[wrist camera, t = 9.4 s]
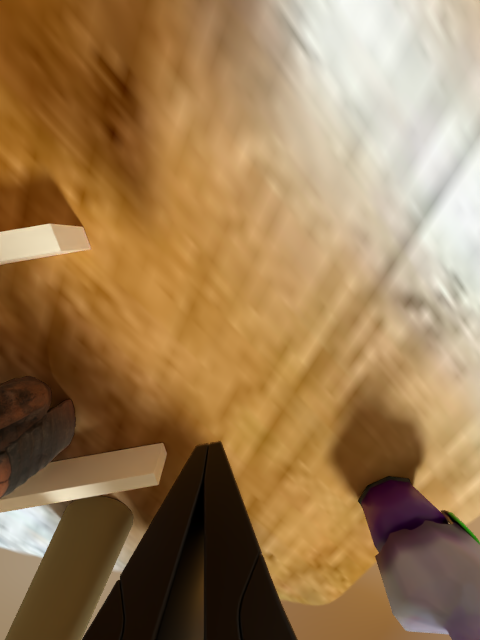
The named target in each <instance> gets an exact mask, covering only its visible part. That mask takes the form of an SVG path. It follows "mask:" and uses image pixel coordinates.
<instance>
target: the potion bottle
mask: <svg viewBox="0 0 480 640" xmlns="http://www.w3.org/2000/svg"><path fill="white" fill-rule="evenodd" d="M359 503H360V505H361V506H362V508H363V510H364V513H365V517H366V520H367V523H368V526H369V529H370V532H371V536H372V539H373V542H374V545H375V547H376V549H377V550H378V552H379V554H378V555H376V556H375V557H376V560H377V564H378V567H379V570H380V573H381V576H382V580H383V583H384V586H385V590H386V593H387V596H388V599H389V602H390V606H391V609H392V613H393V615H394V616H395V617H396V618H397V620H398V621H399V622H400V623H401V625H402V626H403V627H404V629H405V630H406V631H413V632H426V633H439V634H440V633H441V634H449V635H450V637H451V638H452V640H480V542H479V540H478V539H477V538H476V536H475V535H474V534H473V533H472V532H471V531H470V530H469V529H468V528H467V527H466V526H465V524H464V523H463V522H461V521H460V520H459V519H458V518H457V517H456V516H455V515H454V514H453V513H451V512H448V511H445V510H444V511H441V512H440V511H439V510H438V509H437V508H436V507H435V506H433V505H432V504H431V503H430V502H429V501H428V500H427V499H426V498H425V497H424V496H423V495H422V494H421V493H420V492H419V491H418V490H416V489H415V488H414V487H413V486H412V485H411V483H410V480H409V479H406V478H398V477H390V476H388V477H386V478H384V479H382V480H379V481H377V482H375V483H373V484H370V485H368V486H367V487H366V489H365V491H364V492H363V494H362V496H361V497H360V499H359ZM448 523H450V524H448Z"/></svg>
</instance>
